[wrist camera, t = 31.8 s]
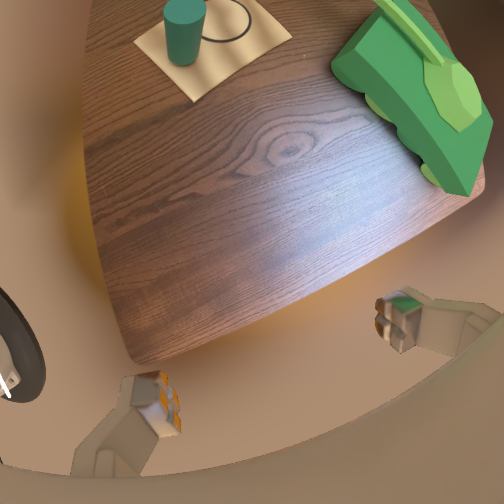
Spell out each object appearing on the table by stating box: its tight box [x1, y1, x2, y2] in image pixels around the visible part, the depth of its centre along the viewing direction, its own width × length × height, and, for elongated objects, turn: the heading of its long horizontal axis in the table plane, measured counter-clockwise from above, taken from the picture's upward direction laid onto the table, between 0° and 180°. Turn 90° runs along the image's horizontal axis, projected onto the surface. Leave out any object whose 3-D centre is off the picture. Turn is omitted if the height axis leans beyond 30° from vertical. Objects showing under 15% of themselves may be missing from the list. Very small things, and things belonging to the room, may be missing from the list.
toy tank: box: [331, 0, 493, 197], centre depth 27 cm, size 18×12×35 cm
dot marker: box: [163, 0, 207, 65], centre depth 20 cm, size 4×4×11 cm
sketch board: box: [133, 0, 292, 103], centre depth 26 cm, size 16×12×1 cm
